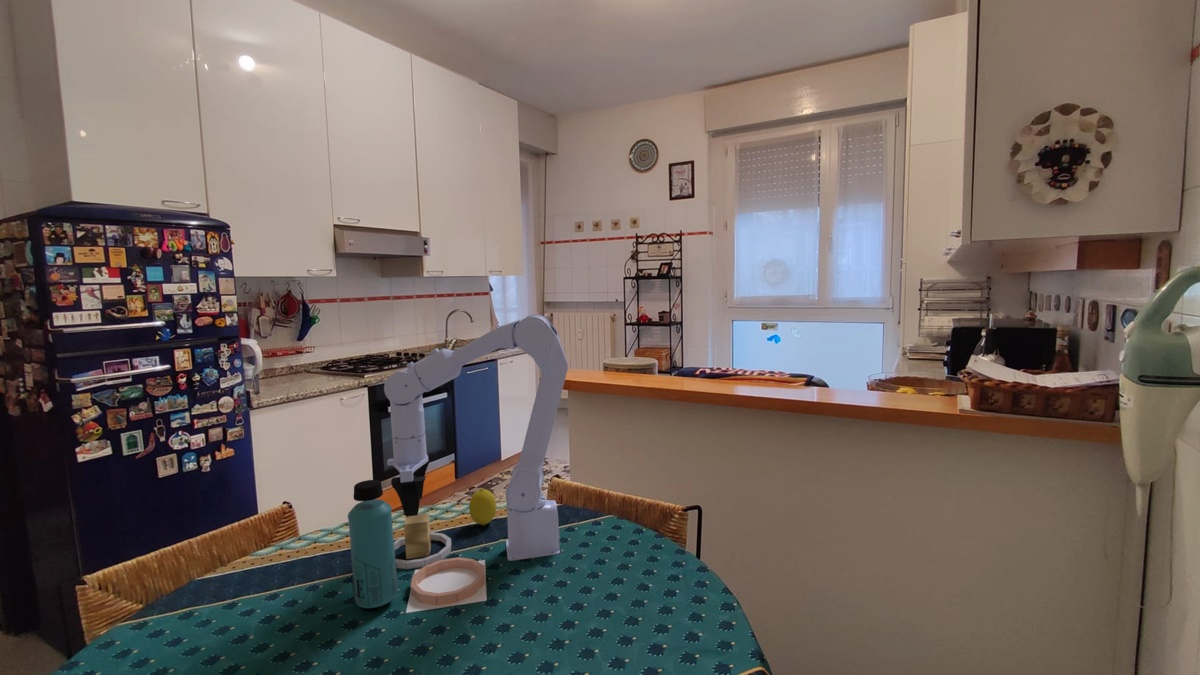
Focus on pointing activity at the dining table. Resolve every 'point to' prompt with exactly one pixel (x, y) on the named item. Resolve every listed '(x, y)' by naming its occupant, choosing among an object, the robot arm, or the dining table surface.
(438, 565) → the ring
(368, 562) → the beverage bottle
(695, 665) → the dining table surface
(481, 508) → the lemon
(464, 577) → the card
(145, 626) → the dining table surface
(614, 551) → the dining table surface
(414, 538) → the ochre block
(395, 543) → the ring
